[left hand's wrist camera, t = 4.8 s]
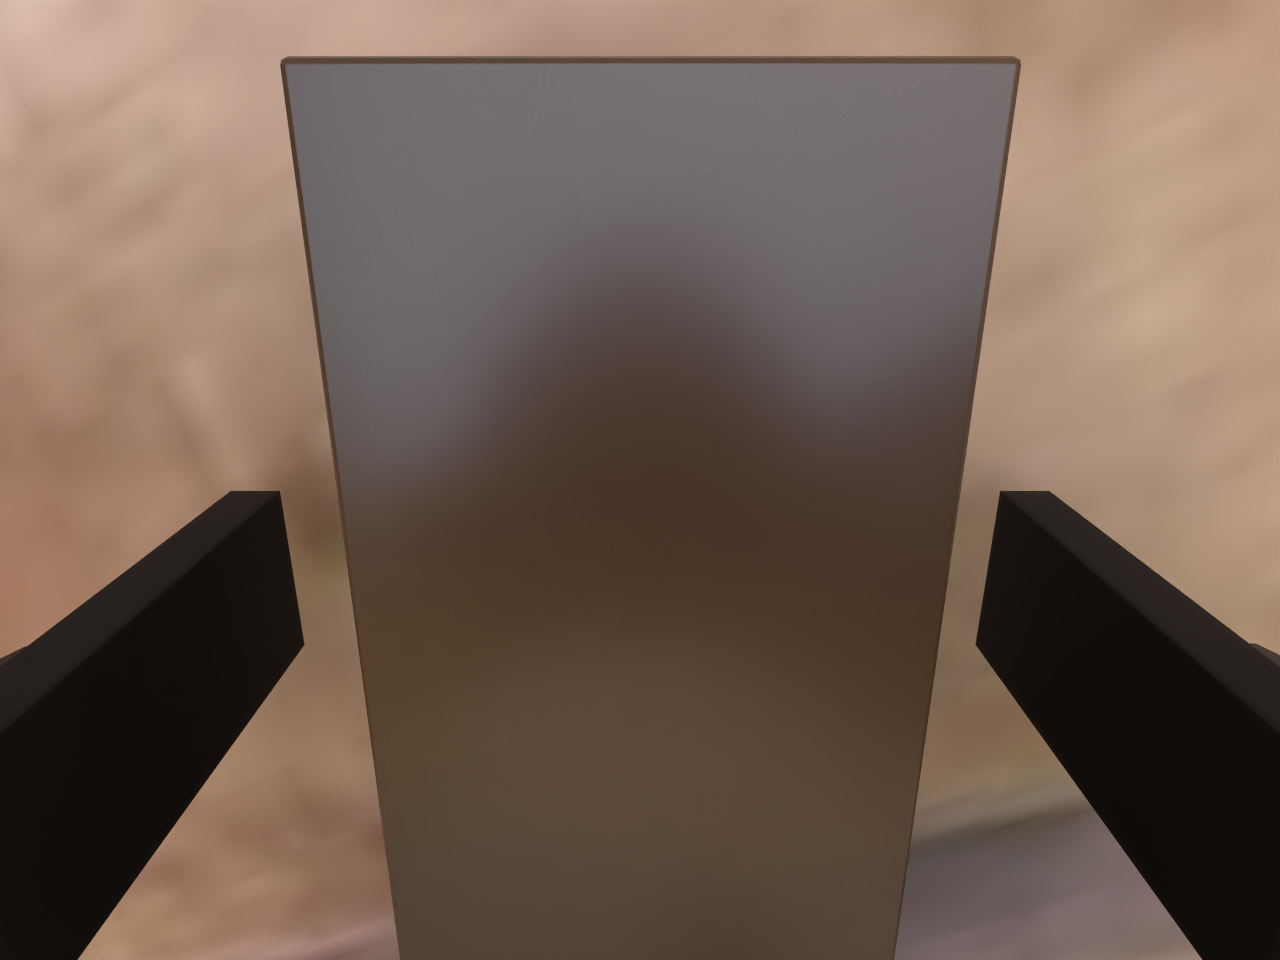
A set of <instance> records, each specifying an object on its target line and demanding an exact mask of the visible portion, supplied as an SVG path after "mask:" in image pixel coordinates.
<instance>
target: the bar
mask: <svg viewBox="0 0 1280 960" xmlns="http://www.w3.org/2000/svg"><path fill="white" fill-rule="evenodd" d="M280 67H281V74H282V82H283V89H284V96H285V104H286V111H287V119H288V126H289V134H290V141H291V149H292V156H293V164H294V171H295V178H296V186H297V193H298V201H299V208H300V216H301V223H302V231H303V238H304V246H305V253H306V260H307V268H308V275H309V283H310V290H311V298H312V305H313V313H314V320H315V328H316V335H317V342H318V350H319V357H320V365H321V372H322V380H323V387H324V395H325V402H326V410H327V417H328V424H329V432H330V439H331V447H332V454H333V462H334V469H335V477H336V484H337V492H338V499H339V506H340V514H341V521H342V529H343V536H344V544H345V551H346V559H347V566H348V574H349V581H350V588H351V596H352V603H353V611H354V618H355V626H356V633H357V641H358V648H359V656H360V663H361V670H362V678H363V685H364V693H365V700H366V708H367V715H368V723H369V730H370V738H371V745H372V752H373V760H374V767H375V775H376V782H377V790H378V797H379V805H380V812H381V820H382V827H383V834H384V842H385V849H386V857H387V864H388V872H389V879H390V887H391V894H392V902H393V909H394V916H395V924H396V931H397V939H398V946H399V954H400V960H894V955H895V948H896V941H897V934H898V927H899V920H900V913H901V906H902V899H903V892H904V884H905V877H906V870H907V863H908V856H909V849H910V842H911V835H912V828H913V821H914V814H915V807H916V800H917V793H918V786H919V779H920V772H921V765H922V758H923V751H924V744H925V737H926V730H927V723H928V716H929V708H930V701H931V694H932V687H933V680H934V673H935V666H936V659H937V652H938V645H939V638H940V631H941V624H942V617H943V610H944V603H945V596H946V589H947V582H948V575H949V568H950V561H951V554H952V547H953V540H954V533H955V525H956V518H957V511H958V504H959V497H960V490H961V483H962V476H963V469H964V462H965V455H966V448H967V441H968V434H969V427H970V420H971V413H972V406H973V399H974V392H975V385H976V378H977V371H978V364H979V357H980V349H981V342H982V335H983V328H984V321H985V314H986V307H987V300H988V293H989V286H990V279H991V272H992V265H993V258H994V251H995V244H996V237H997V230H998V223H999V216H1000V209H1001V202H1002V195H1003V188H1004V181H1005V173H1006V166H1007V159H1008V152H1009V145H1010V138H1011V131H1012V124H1013V117H1014V110H1015V103H1016V96H1017V89H1018V82H1019V75H1020V68H1021V63H1020V59H1018V58H1016V57H1014V56H288V57H286V58H284V59H282V60H281V65H280Z"/></svg>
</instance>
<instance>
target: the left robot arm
mask: <svg viewBox="0 0 1280 960" xmlns="http://www.w3.org/2000/svg"><path fill="white" fill-rule="evenodd" d="M303 646H304V639H303V633H302V627H301V621H300V614H299V608H298V602H297V596H296V589H295V583H294V577H293V571H292V564H291V558H290V552H289V546H288V539H287V533H286V527H285V521H284V514H283V508H282V502H281V496H280V491H230V492H229V493H228V494H226V495H225V496H224V497H222V498H221V499H220V500H219V501H217V502H216V503H215V504H213V505H212V506H211V507H209V508H208V509H207V510H205V511H204V512H203V513H201V514H200V515H199V516H198V517H196V518H195V519H194V520H192V521H191V522H190V523H188V524H187V525H186V526H184V527H183V528H182V529H181V530H179V531H178V532H177V533H175V534H174V535H173V536H171V537H170V538H169V539H167V540H166V541H165V542H163V543H162V544H161V545H160V546H158V547H157V548H156V549H154V550H153V551H152V552H150V553H149V554H148V555H146V556H145V557H144V558H143V559H141V560H140V561H139V562H137V563H136V564H135V565H133V566H132V567H131V568H129V569H128V570H127V571H125V572H124V573H123V574H122V575H120V576H119V577H118V578H116V579H115V580H114V581H112V582H111V583H110V584H108V585H107V586H106V587H104V588H103V589H102V590H101V591H99V592H98V593H97V594H95V595H94V596H93V597H91V598H90V599H89V600H87V601H86V602H85V603H84V604H82V605H81V606H80V607H78V608H77V609H76V610H74V611H73V612H72V613H70V614H69V615H68V616H66V617H65V618H64V619H63V620H61V621H60V622H59V623H57V624H56V625H55V626H53V627H52V628H51V629H49V630H48V631H47V632H46V633H44V634H43V635H42V636H40V637H39V638H38V639H36V640H35V641H34V642H32V643H31V644H30V645H28V646H27V647H23V648H21V649H19V650H17V651H15V652H13V653H11V654H9V655H7V656H5V657H3V658H1V659H0V960H78V958H79V957H80V955H81V954H82V953H83V951H84V950H85V949H86V947H87V946H88V944H89V943H90V942H91V940H92V939H93V937H94V936H95V935H96V933H97V932H98V931H99V929H100V928H101V926H102V925H103V924H104V922H105V921H106V919H107V918H108V917H109V915H110V914H111V912H112V911H113V910H114V908H115V907H116V906H117V904H118V903H119V901H120V900H121V899H122V897H123V896H124V894H125V893H126V892H127V890H128V889H129V887H130V886H131V885H132V883H133V882H134V881H135V879H136V878H137V876H138V875H139V874H140V872H141V871H142V869H143V868H144V867H145V865H146V864H147V863H148V861H149V860H150V858H151V857H152V856H153V854H154V853H155V851H156V850H157V849H158V847H159V846H160V844H161V843H162V842H163V840H164V839H165V838H166V836H167V835H168V833H169V832H170V831H171V829H172V828H173V826H174V825H175V824H176V822H177V821H178V819H179V818H180V817H181V815H182V814H183V813H184V811H185V810H186V808H187V807H188V806H189V804H190V803H191V801H192V800H193V799H194V797H195V796H196V794H197V793H198V792H199V790H200V789H201V788H202V786H203V785H204V783H205V782H206V781H207V779H208V778H209V776H210V775H211V774H212V772H213V771H214V770H215V768H216V767H217V765H218V764H219V763H220V761H221V760H222V758H223V757H224V756H225V754H226V753H227V751H228V750H229V749H230V747H231V746H232V745H233V743H234V742H235V740H236V739H237V738H238V736H239V735H240V733H241V732H242V731H243V729H244V728H245V726H246V725H247V724H248V722H249V721H250V720H251V718H252V717H253V715H254V714H255V713H256V711H257V710H258V708H259V707H260V706H261V704H262V703H263V701H264V700H265V699H266V697H267V696H268V695H269V693H270V692H271V690H272V689H273V688H274V686H275V685H276V683H277V682H278V681H279V679H280V678H281V677H282V675H283V674H284V672H285V671H286V670H287V668H288V667H289V665H290V664H291V663H292V661H293V660H294V658H295V657H296V656H297V654H298V653H299V652H300V650H301V649H302V647H303ZM976 646H977V647H978V649H979V650H980V652H981V653H982V654H983V656H984V657H985V658H986V660H987V661H988V663H989V664H990V665H991V667H992V668H993V670H994V671H995V672H996V674H997V675H998V676H999V678H1000V679H1001V681H1002V682H1003V683H1004V685H1005V686H1006V688H1007V689H1008V690H1009V692H1010V693H1011V695H1012V696H1013V697H1014V699H1015V700H1016V701H1017V703H1018V704H1019V706H1020V707H1021V708H1022V710H1023V711H1024V713H1025V714H1026V715H1027V717H1028V718H1029V720H1030V721H1031V722H1032V724H1033V725H1034V726H1035V728H1036V729H1037V731H1038V732H1039V733H1040V735H1041V736H1042V738H1043V739H1044V740H1045V742H1046V743H1047V745H1048V746H1049V747H1050V749H1051V750H1052V751H1053V753H1054V754H1055V756H1056V757H1057V758H1058V760H1059V761H1060V763H1061V764H1062V765H1063V767H1064V768H1065V769H1066V771H1067V772H1068V774H1069V775H1070V776H1071V778H1072V779H1073V781H1074V782H1075V783H1076V785H1077V786H1078V788H1079V789H1080V790H1081V792H1082V793H1083V794H1084V796H1085V797H1086V799H1087V800H1088V801H1089V803H1090V804H1091V806H1092V807H1093V808H1094V810H1095V811H1096V813H1097V814H1098V815H1099V817H1100V818H1101V819H1102V821H1103V822H1104V824H1105V825H1106V826H1107V828H1108V829H1109V831H1110V832H1111V833H1112V835H1113V836H1114V837H1115V839H1116V840H1117V842H1118V843H1119V844H1120V846H1121V847H1122V849H1123V850H1124V851H1125V853H1126V854H1127V856H1128V857H1129V858H1130V860H1131V861H1132V862H1133V864H1134V865H1135V867H1136V868H1137V869H1138V871H1139V872H1140V874H1141V875H1142V876H1143V878H1144V879H1145V881H1146V882H1147V883H1148V885H1149V886H1150V887H1151V889H1152V890H1153V892H1154V893H1155V894H1156V896H1157V897H1158V899H1159V900H1160V901H1161V903H1162V904H1163V906H1164V907H1165V908H1166V910H1167V911H1168V912H1169V914H1170V915H1171V917H1172V918H1173V919H1174V921H1175V922H1176V924H1177V925H1178V926H1179V928H1180V929H1181V930H1182V932H1183V933H1184V935H1185V936H1186V937H1187V939H1188V940H1189V942H1190V943H1191V944H1192V946H1193V947H1194V949H1195V950H1196V951H1197V953H1198V954H1199V955H1200V957H1201V958H1202V960H1280V655H1278V654H1276V653H1274V652H1272V651H1270V650H1268V649H1266V648H1264V647H1262V646H1260V645H1258V644H1249V643H1248V642H1246V641H1245V640H1244V639H1242V638H1241V637H1240V636H1238V635H1237V634H1236V633H1235V632H1233V631H1232V630H1231V629H1229V628H1228V627H1227V626H1225V625H1224V624H1223V623H1221V622H1220V621H1219V620H1217V619H1216V618H1215V617H1214V616H1212V615H1211V614H1210V613H1208V612H1207V611H1206V610H1204V609H1203V608H1202V607H1200V606H1199V605H1198V604H1196V603H1195V602H1194V601H1193V600H1191V599H1190V598H1189V597H1187V596H1186V595H1185V594H1183V593H1182V592H1181V591H1179V590H1178V589H1177V588H1176V587H1174V586H1173V585H1172V584H1170V583H1169V582H1168V581H1166V580H1165V579H1164V578H1162V577H1161V576H1160V575H1158V574H1157V573H1156V572H1155V571H1153V570H1152V569H1151V568H1149V567H1148V566H1147V565H1145V564H1144V563H1143V562H1141V561H1140V560H1139V559H1138V558H1136V557H1135V556H1134V555H1132V554H1131V553H1130V552H1128V551H1127V550H1126V549H1124V548H1123V547H1122V546H1120V545H1119V544H1118V543H1117V542H1115V541H1114V540H1113V539H1111V538H1110V537H1109V536H1107V535H1106V534H1105V533H1103V532H1102V531H1101V530H1100V529H1098V528H1097V527H1096V526H1094V525H1093V524H1092V523H1090V522H1089V521H1088V520H1086V519H1085V518H1084V517H1082V516H1081V515H1080V514H1079V513H1077V512H1076V511H1075V510H1073V509H1072V508H1071V507H1069V506H1068V505H1067V504H1065V503H1064V502H1063V501H1061V500H1060V499H1059V498H1058V497H1056V496H1055V495H1054V494H1052V493H1051V492H1050V491H1000V496H999V502H998V508H997V515H996V521H995V527H994V533H993V540H992V546H991V552H990V558H989V564H988V571H987V577H986V583H985V589H984V596H983V602H982V608H981V614H980V621H979V627H978V633H977V639H976Z"/></svg>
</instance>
